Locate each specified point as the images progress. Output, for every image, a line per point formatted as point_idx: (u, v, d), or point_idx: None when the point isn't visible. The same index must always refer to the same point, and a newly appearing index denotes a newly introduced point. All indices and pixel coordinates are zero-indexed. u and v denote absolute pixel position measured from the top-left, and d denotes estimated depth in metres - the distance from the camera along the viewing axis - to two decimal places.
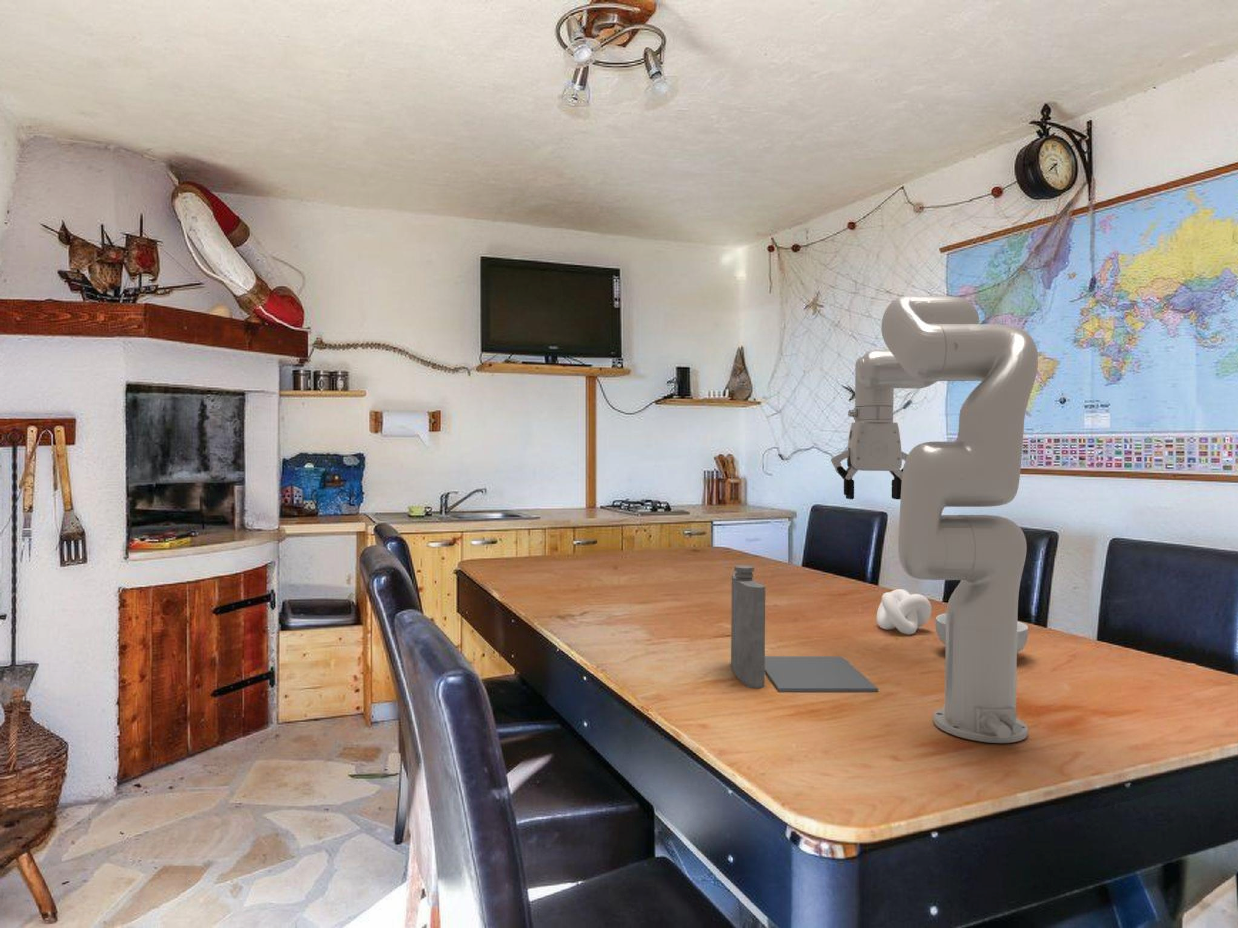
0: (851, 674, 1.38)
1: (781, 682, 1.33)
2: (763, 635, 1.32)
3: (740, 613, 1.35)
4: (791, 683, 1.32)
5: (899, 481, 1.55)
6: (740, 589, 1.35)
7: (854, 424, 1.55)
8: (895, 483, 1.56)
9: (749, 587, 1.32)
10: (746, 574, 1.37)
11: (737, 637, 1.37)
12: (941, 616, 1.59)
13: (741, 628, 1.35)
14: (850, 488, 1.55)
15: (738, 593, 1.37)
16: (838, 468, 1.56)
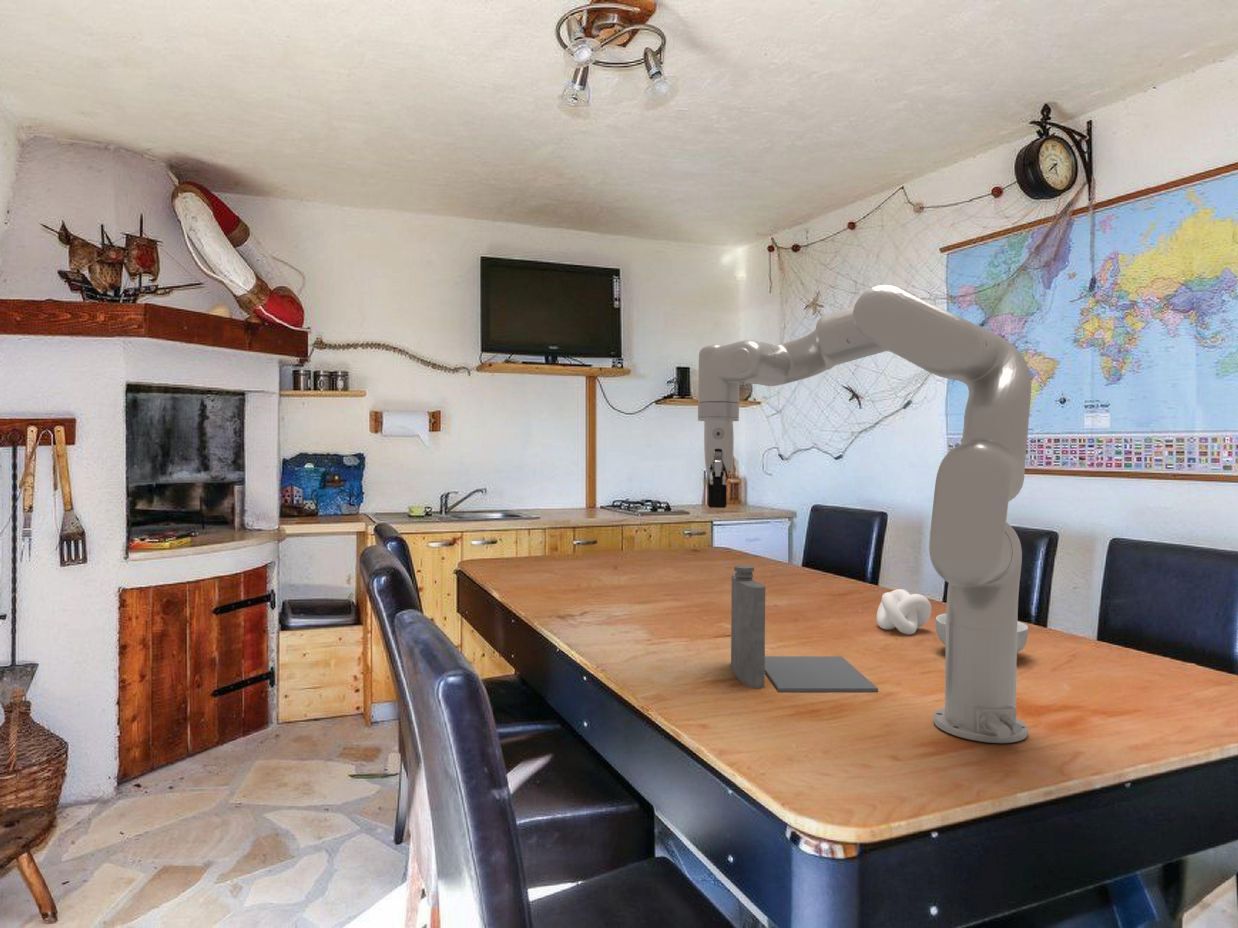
0: (851, 674, 1.38)
1: (781, 682, 1.33)
2: (763, 635, 1.32)
3: (740, 613, 1.35)
4: (791, 683, 1.32)
5: None
6: (740, 589, 1.35)
7: (725, 422, 1.36)
8: None
9: (749, 587, 1.32)
10: (746, 574, 1.37)
11: (737, 637, 1.37)
12: (941, 616, 1.59)
13: (741, 628, 1.35)
14: (724, 495, 1.36)
15: (738, 593, 1.37)
16: (722, 473, 1.33)
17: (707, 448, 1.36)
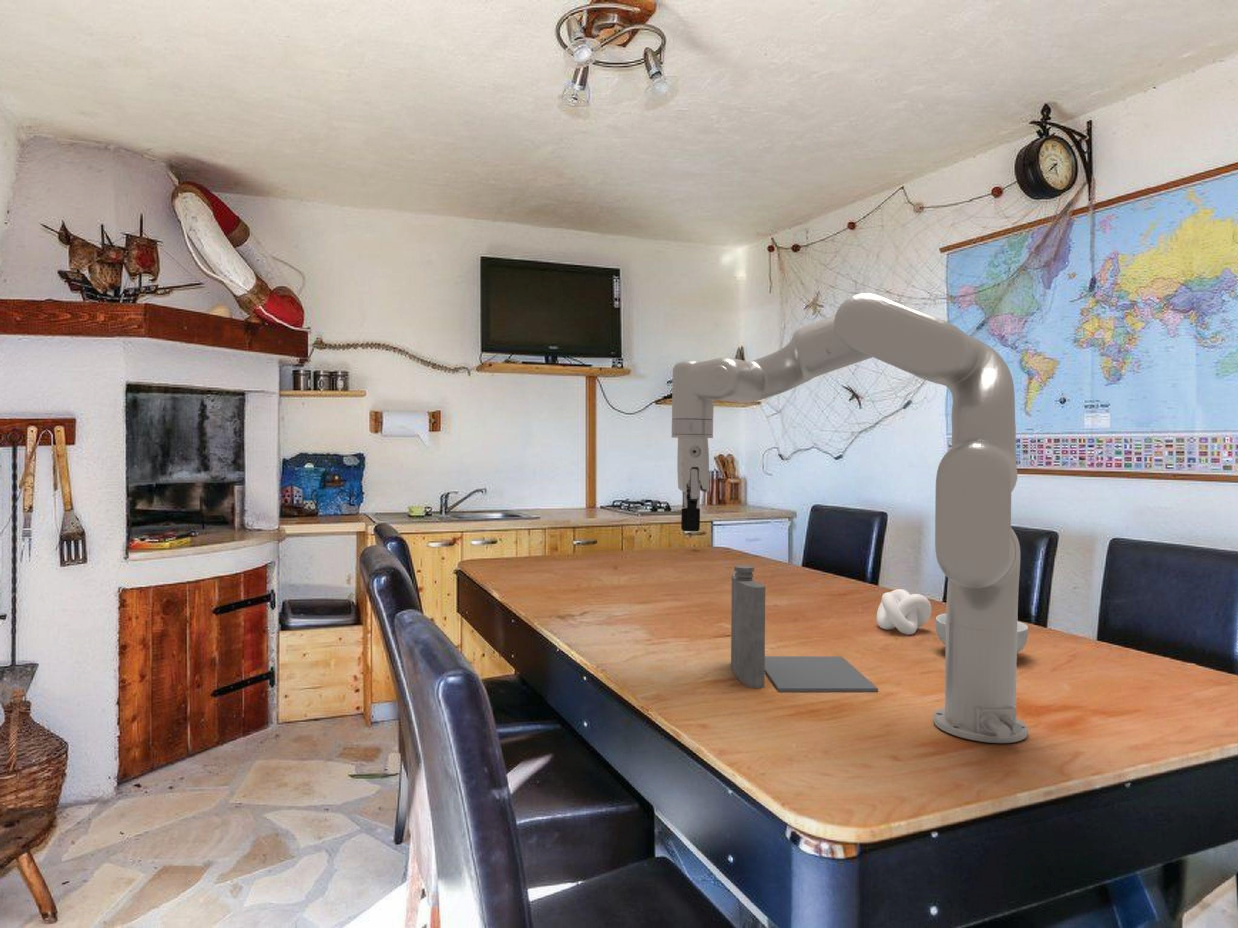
0: (851, 674, 1.38)
1: (781, 682, 1.33)
2: (763, 635, 1.32)
3: (740, 613, 1.35)
4: (791, 683, 1.32)
5: None
6: (740, 589, 1.35)
7: (702, 440, 1.34)
8: None
9: (749, 587, 1.32)
10: (746, 574, 1.37)
11: (737, 637, 1.37)
12: (941, 616, 1.59)
13: (741, 628, 1.35)
14: (698, 519, 1.38)
15: (738, 593, 1.37)
16: (696, 499, 1.36)
17: (683, 466, 1.34)
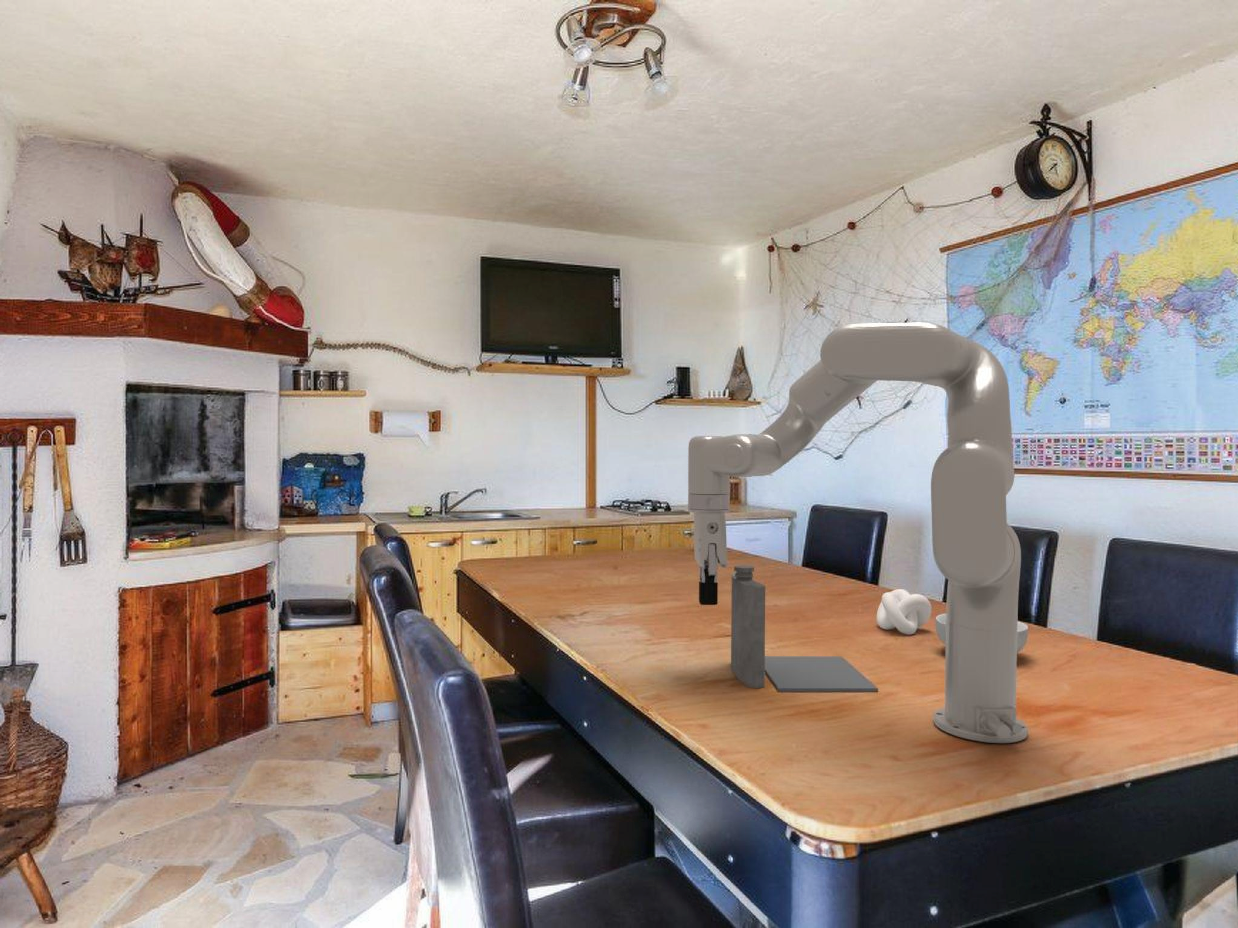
0: (851, 674, 1.38)
1: (781, 682, 1.33)
2: (763, 635, 1.32)
3: (740, 613, 1.35)
4: (791, 683, 1.32)
5: None
6: (740, 589, 1.35)
7: (719, 515, 1.34)
8: None
9: (749, 587, 1.32)
10: (746, 574, 1.37)
11: (737, 637, 1.37)
12: (941, 616, 1.59)
13: (741, 628, 1.35)
14: (715, 592, 1.38)
15: (738, 593, 1.37)
16: None
17: (701, 542, 1.34)
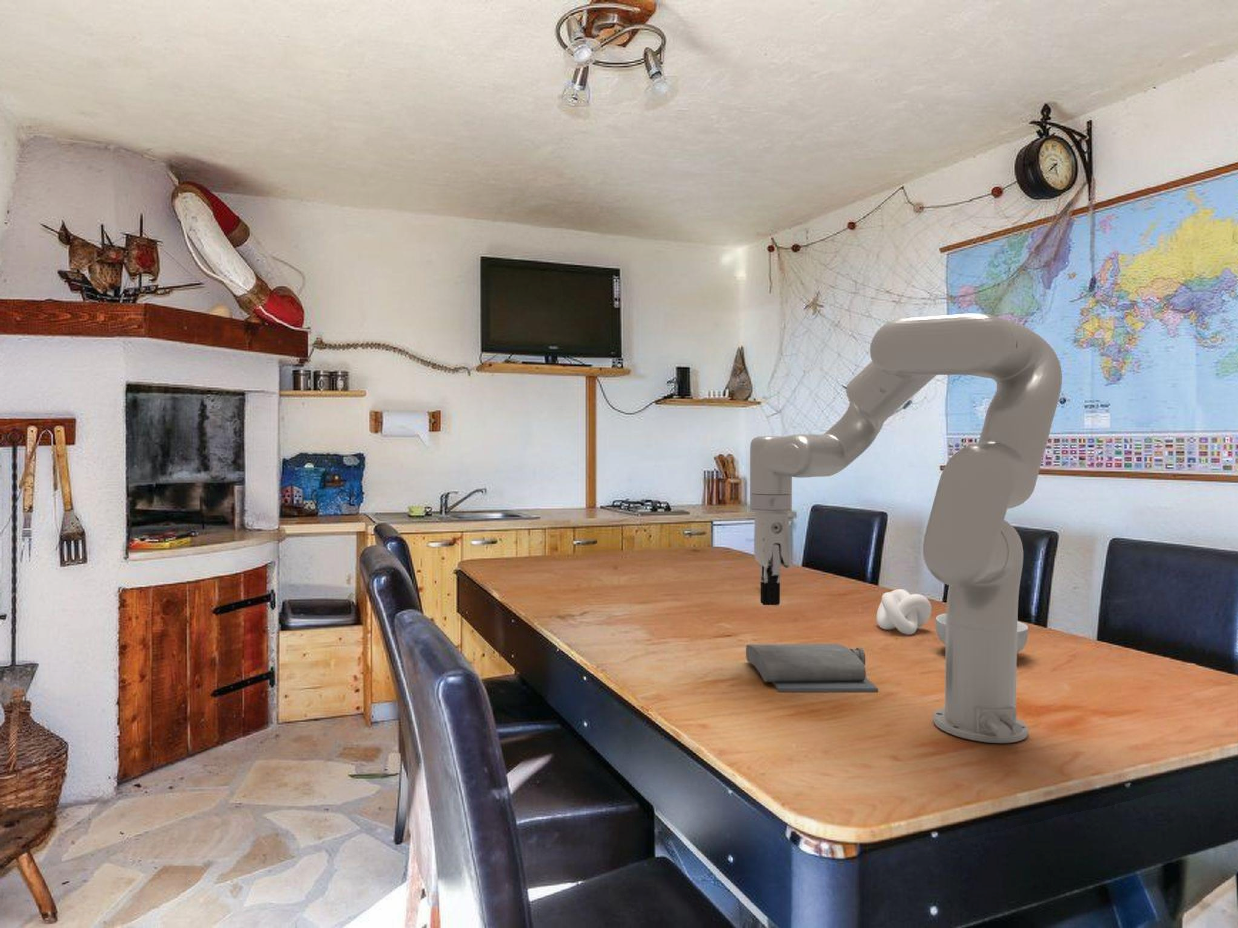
0: None
1: (781, 682, 1.33)
2: (817, 680, 1.32)
3: (826, 655, 1.36)
4: (791, 683, 1.32)
5: None
6: (849, 655, 1.37)
7: (783, 515, 1.34)
8: None
9: (863, 664, 1.33)
10: None
11: (798, 652, 1.38)
12: (941, 616, 1.59)
13: (813, 656, 1.36)
14: (778, 592, 1.38)
15: (842, 652, 1.38)
16: None
17: (765, 542, 1.34)
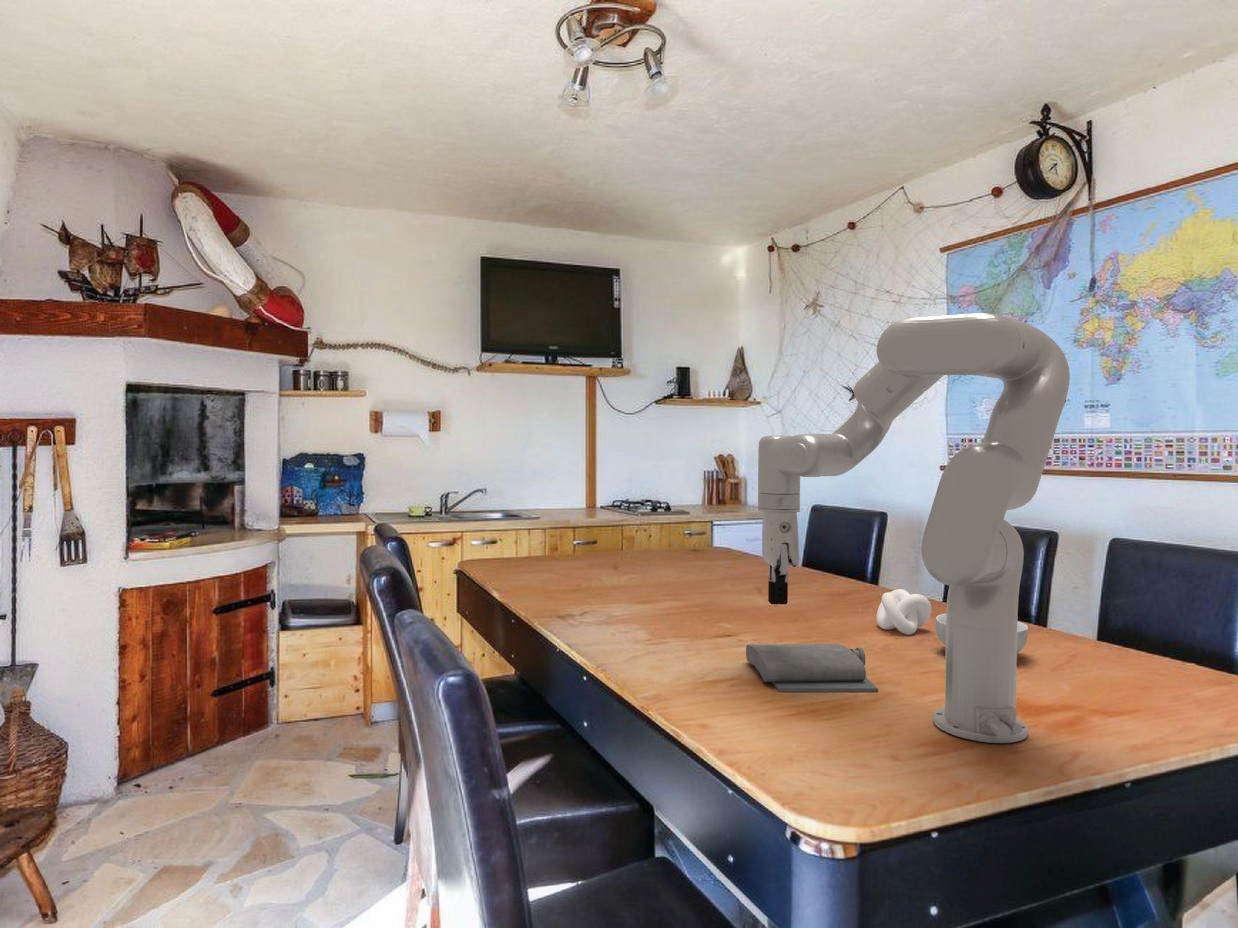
0: None
1: (781, 682, 1.33)
2: (817, 680, 1.32)
3: (826, 655, 1.36)
4: (791, 683, 1.32)
5: None
6: (849, 655, 1.37)
7: (791, 515, 1.34)
8: None
9: (863, 664, 1.33)
10: None
11: (798, 652, 1.38)
12: (941, 616, 1.59)
13: (813, 656, 1.36)
14: (785, 592, 1.38)
15: (842, 652, 1.38)
16: None
17: (773, 542, 1.34)
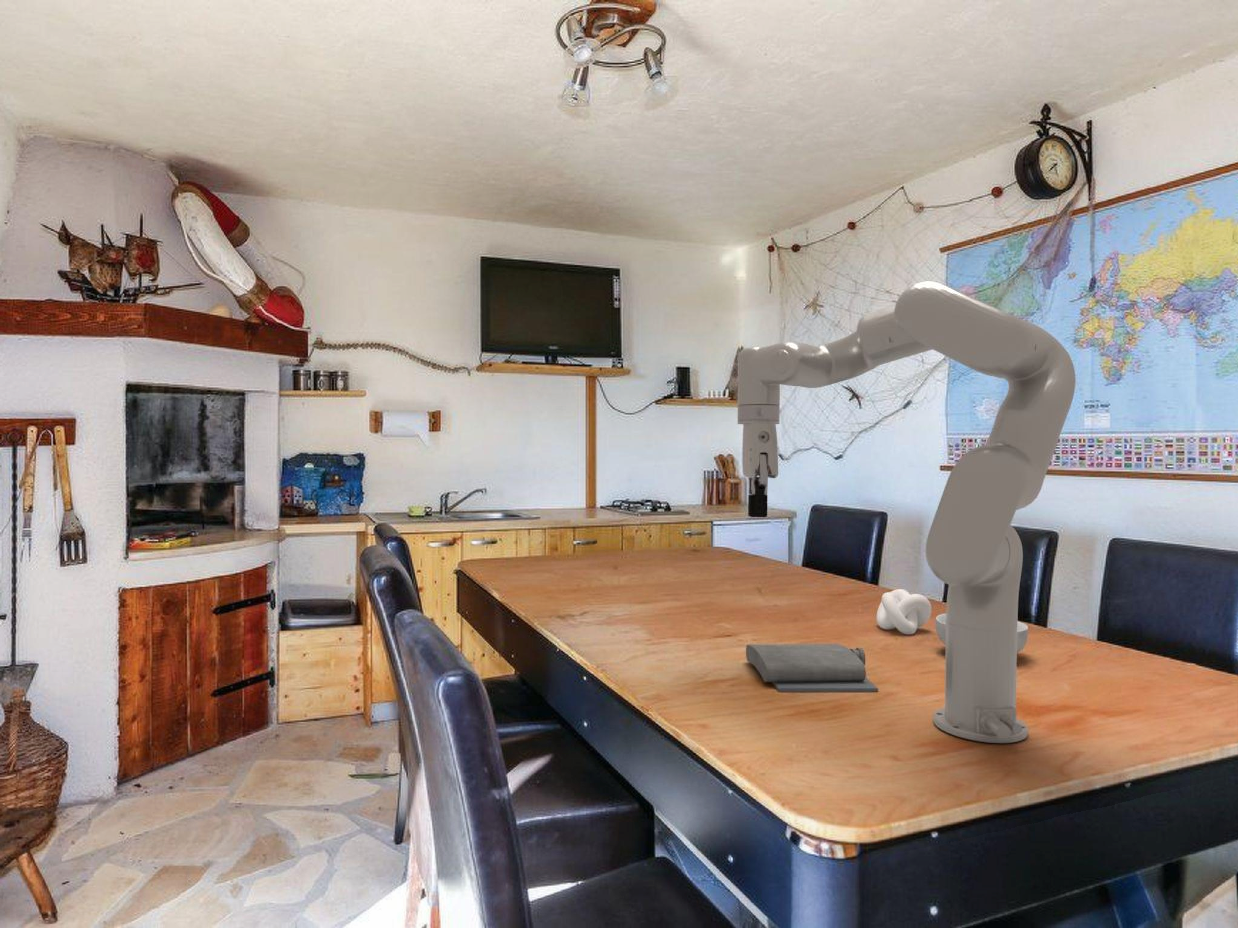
0: None
1: (781, 682, 1.33)
2: (817, 680, 1.32)
3: (826, 655, 1.36)
4: (791, 683, 1.32)
5: None
6: (849, 655, 1.37)
7: (770, 425, 1.34)
8: None
9: (863, 664, 1.33)
10: None
11: (798, 652, 1.38)
12: (941, 616, 1.59)
13: (813, 656, 1.36)
14: (765, 505, 1.38)
15: (842, 652, 1.38)
16: None
17: (752, 452, 1.34)
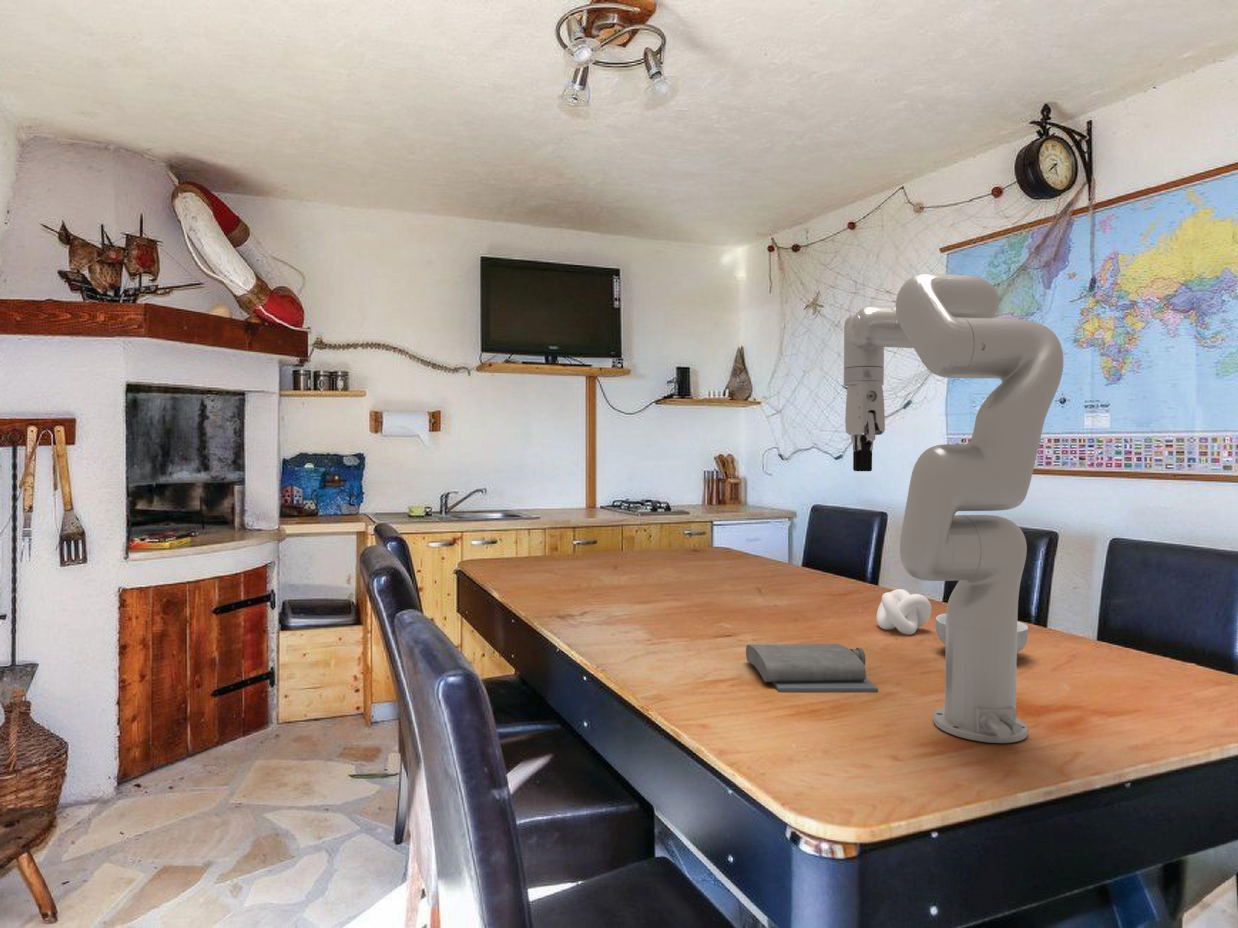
0: None
1: (781, 682, 1.33)
2: (817, 680, 1.32)
3: (826, 655, 1.36)
4: (791, 683, 1.32)
5: None
6: (849, 655, 1.37)
7: (878, 385, 1.45)
8: None
9: (863, 664, 1.33)
10: None
11: (798, 652, 1.38)
12: (941, 616, 1.59)
13: (813, 656, 1.36)
14: (870, 460, 1.49)
15: (842, 652, 1.38)
16: None
17: (861, 410, 1.45)
